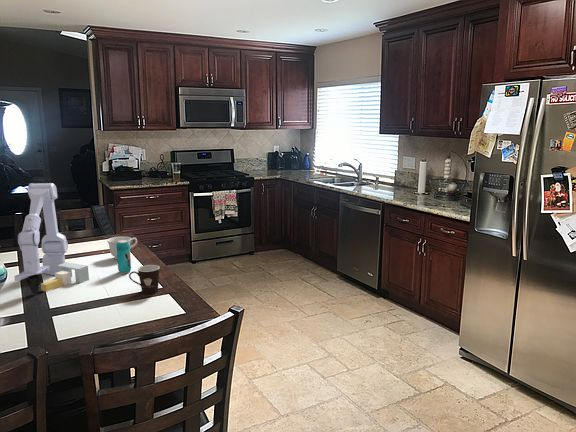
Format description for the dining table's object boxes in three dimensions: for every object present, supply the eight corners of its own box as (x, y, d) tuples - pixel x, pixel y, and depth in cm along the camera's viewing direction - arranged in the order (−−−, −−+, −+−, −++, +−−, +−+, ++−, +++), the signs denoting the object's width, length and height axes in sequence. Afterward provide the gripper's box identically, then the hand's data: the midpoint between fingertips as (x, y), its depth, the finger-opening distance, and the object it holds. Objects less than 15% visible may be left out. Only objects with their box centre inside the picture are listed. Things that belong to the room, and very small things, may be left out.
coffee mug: (164, 289, 198) (163, 266, 196) (152, 296, 190) (151, 272, 188) (141, 285, 202) (140, 263, 199) (128, 292, 194) (127, 269, 192)
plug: (40, 290, 195) (38, 278, 194) (63, 281, 206) (62, 270, 205) (48, 292, 194) (46, 280, 193) (71, 282, 204) (70, 271, 203)
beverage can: (127, 274, 215) (125, 243, 212) (115, 273, 217) (113, 242, 213) (133, 270, 221) (131, 239, 218) (122, 269, 222) (120, 239, 219)
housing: (58, 279, 209) (57, 265, 207) (68, 275, 213) (66, 262, 212) (80, 283, 204) (78, 268, 203) (89, 279, 208) (87, 265, 207)
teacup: (141, 258, 240) (140, 239, 238) (111, 263, 232) (110, 243, 230) (134, 252, 250) (133, 234, 248) (105, 257, 242) (104, 238, 240)
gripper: (22, 266, 180) (25, 300, 182) (53, 256, 193) (56, 288, 196) (9, 264, 182) (13, 297, 185) (41, 254, 195) (44, 285, 198)
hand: (34, 292), depth 190 cm, fingers closed
